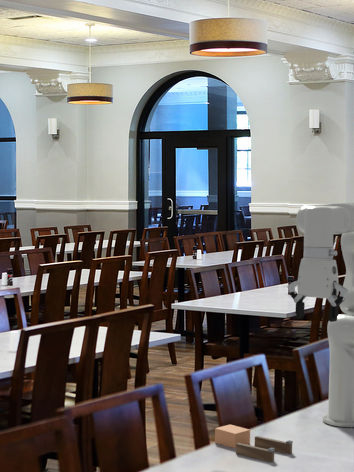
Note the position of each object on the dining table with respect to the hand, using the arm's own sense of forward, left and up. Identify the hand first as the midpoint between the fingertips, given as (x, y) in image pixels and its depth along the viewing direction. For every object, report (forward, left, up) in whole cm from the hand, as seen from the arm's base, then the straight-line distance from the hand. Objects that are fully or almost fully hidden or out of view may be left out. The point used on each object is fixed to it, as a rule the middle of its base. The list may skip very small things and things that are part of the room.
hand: (316, 319), depth 224 cm
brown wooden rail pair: (+15, -6, -33) cm, 37 cm away
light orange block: (+13, -17, -34) cm, 40 cm away
